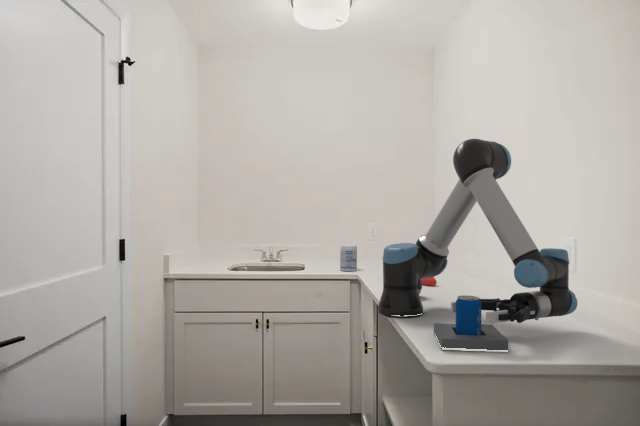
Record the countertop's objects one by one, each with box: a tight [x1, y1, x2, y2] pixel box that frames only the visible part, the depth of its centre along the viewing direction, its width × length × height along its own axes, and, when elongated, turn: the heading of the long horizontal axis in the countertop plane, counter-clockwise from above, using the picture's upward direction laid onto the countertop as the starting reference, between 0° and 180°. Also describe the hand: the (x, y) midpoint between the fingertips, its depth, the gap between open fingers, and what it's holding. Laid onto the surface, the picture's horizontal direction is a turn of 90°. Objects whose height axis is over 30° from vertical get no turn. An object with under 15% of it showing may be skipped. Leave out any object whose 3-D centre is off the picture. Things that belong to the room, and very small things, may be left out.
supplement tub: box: [339, 244, 358, 272], centre depth 269 cm, size 10×10×15 cm
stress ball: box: [421, 276, 437, 287], centre depth 217 cm, size 5×9×6 cm, turn 18°
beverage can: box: [455, 295, 482, 335], centre depth 123 cm, size 6×6×12 cm
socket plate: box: [433, 322, 509, 351], centre depth 123 cm, size 16×16×3 cm
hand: (468, 312), depth 123 cm, fingers open, 13 cm apart
